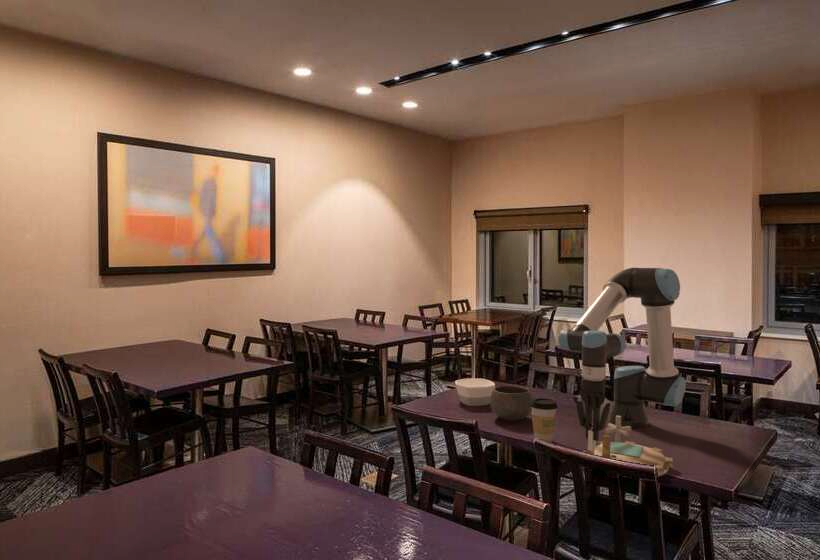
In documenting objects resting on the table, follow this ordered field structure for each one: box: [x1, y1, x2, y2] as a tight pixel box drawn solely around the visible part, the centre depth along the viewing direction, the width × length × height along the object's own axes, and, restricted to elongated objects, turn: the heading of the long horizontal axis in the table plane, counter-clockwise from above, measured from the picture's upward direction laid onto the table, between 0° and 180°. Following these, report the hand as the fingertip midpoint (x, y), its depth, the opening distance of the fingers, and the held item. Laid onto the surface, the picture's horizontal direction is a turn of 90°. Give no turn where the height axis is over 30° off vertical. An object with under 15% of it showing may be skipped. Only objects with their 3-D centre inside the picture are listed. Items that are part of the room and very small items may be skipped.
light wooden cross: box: [604, 416, 633, 443], centre depth 204 cm, size 10×10×10 cm
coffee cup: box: [530, 397, 559, 442], centre depth 206 cm, size 10×10×15 cm
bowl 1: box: [454, 377, 496, 407], centre depth 259 cm, size 18×18×9 cm
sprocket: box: [587, 434, 674, 475], centre depth 184 cm, size 26×26×9 cm
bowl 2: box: [489, 385, 534, 422], centre depth 234 cm, size 18×18×13 cm
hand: (591, 449), depth 184 cm, fingers closed
